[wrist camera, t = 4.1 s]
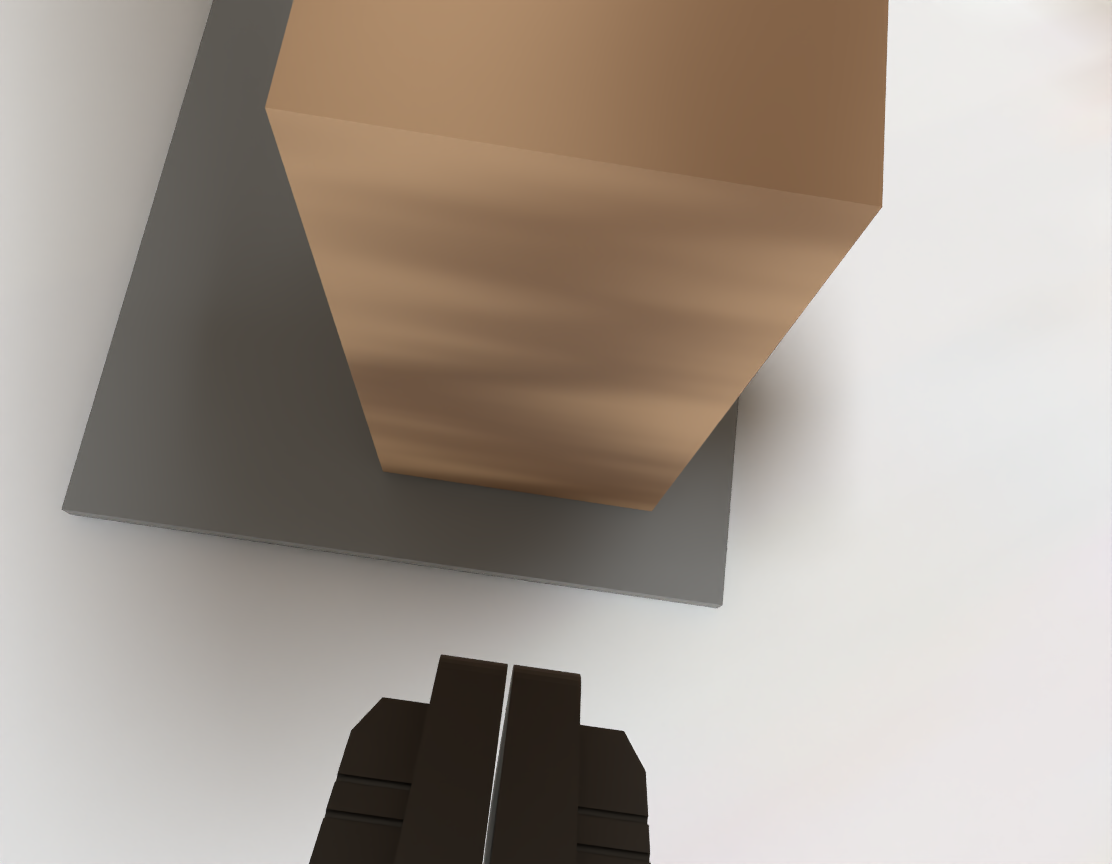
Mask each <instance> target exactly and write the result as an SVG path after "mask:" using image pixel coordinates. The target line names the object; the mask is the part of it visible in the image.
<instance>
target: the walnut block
mask: <svg viewBox="0 0 1112 864" xmlns="http://www.w3.org/2000/svg"><path fill="white" fill-rule="evenodd" d="M887 31H888V0H293V4H292V8H291V11H290V15H289V19H288V23H287V26H286V30H285V34H284V38H283V41H282V45H281V49H280V53H279V56H278V60H277V64H276V68H275V71H274V75H273V79H272V83H271V87H270V90H269V94H268V98H267V102H266V105H265V109H266V112H267V115H268V119H269V122H270V125H271V128H272V131H273V134H274V137H275V140H276V143H277V146H278V149H279V152H280V156H281V159H282V162H283V165H284V168H285V171H286V174H287V177H288V180H289V183H290V186H291V189H292V193H293V196H294V199H295V202H296V205H297V208H298V211H299V214H300V217H301V220H302V223H303V226H304V230H305V233H306V236H307V239H308V242H309V245H310V248H311V251H312V254H313V257H314V260H315V264H316V267H317V270H318V273H319V276H320V279H321V282H322V285H323V288H324V291H325V294H326V297H327V301H328V304H329V307H330V310H331V313H332V316H333V319H334V322H335V325H336V328H337V331H338V334H339V338H340V341H341V344H342V347H343V350H344V353H345V356H346V359H347V362H348V365H349V368H350V371H351V375H352V378H353V381H354V384H355V387H356V390H357V393H358V396H359V399H360V402H361V405H362V409H363V412H364V415H365V418H366V421H367V424H368V427H369V430H370V433H371V436H372V439H373V442H374V446H375V449H376V452H377V455H378V458H379V461H380V464H381V467H382V470H383V472H389V473H396V474H403V475H410V476H416V477H423V478H430V479H437V480H443V481H450V482H457V483H463V484H470V485H477V486H484V487H490V488H497V489H504V490H511V491H517V492H524V493H531V494H538V495H544V496H551V497H558V498H565V499H571V500H578V501H585V502H592V503H598V504H605V505H612V506H619V507H625V508H632V509H639V510H645V511H652V510H653V509H654V508H655V506H656V505H657V504H658V502H659V501H660V500H661V498H662V497H663V496H664V494H665V493H666V492H667V490H668V489H669V488H670V486H671V485H672V484H673V483H674V481H675V480H676V479H677V477H678V476H679V475H680V473H681V472H682V471H683V469H684V468H685V467H686V465H687V464H688V463H689V461H690V460H691V459H692V457H693V456H694V455H695V453H696V452H697V451H698V449H699V448H700V447H701V446H702V444H703V443H704V442H705V440H706V439H707V438H708V436H709V435H710V434H711V432H712V431H713V430H714V428H715V427H716V426H717V424H718V423H719V422H720V420H721V419H722V418H723V416H724V415H725V414H726V412H727V411H728V410H729V409H730V407H731V406H732V405H733V403H734V402H735V401H736V399H737V398H738V397H739V395H740V394H741V393H742V391H743V390H744V389H745V387H746V386H747V385H748V383H749V382H750V381H751V379H752V378H753V377H754V375H755V374H756V373H757V372H758V370H759V369H760V368H761V366H762V365H763V364H764V362H765V361H766V360H767V358H768V357H769V356H770V354H771V353H772V352H773V350H774V349H775V348H776V346H777V345H778V344H779V342H780V341H781V340H782V338H783V337H784V336H785V335H786V333H787V332H788V331H789V329H790V328H791V327H792V325H793V324H794V323H795V321H796V320H797V319H798V317H799V316H800V315H801V313H802V312H803V311H804V309H805V308H806V307H807V305H808V304H809V303H810V301H811V300H812V299H813V298H814V296H815V295H816V294H817V292H818V291H819V290H820V288H821V287H822V286H823V284H824V283H825V282H826V280H827V279H828V278H829V276H830V275H831V274H832V272H833V271H834V270H835V268H836V267H837V266H838V264H839V263H840V262H841V261H842V259H843V258H844V257H845V255H846V254H847V253H848V251H849V250H850V249H851V247H852V246H853V245H854V243H855V242H856V241H857V239H858V238H859V237H860V235H861V234H862V233H863V231H864V230H865V229H866V227H867V226H868V225H869V224H870V222H871V221H872V220H873V218H874V217H875V216H876V214H877V213H878V212H879V210H880V209H881V208H882V194H883V161H884V129H885V96H886V64H887Z"/></svg>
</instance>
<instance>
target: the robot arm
mask: <svg viewBox="0 0 1112 864" xmlns="http://www.w3.org/2000/svg"><path fill="white" fill-rule="evenodd" d="M507 667H508V664H504V663H497V662H490V661H483V660H476V659H469V658H462V657H455V656H448V655H441V657H440V660H439V664H438V668H437V673H436V677H435V682H434V686H433V691H432V695H431V700H430V704H427V703H419V702H412V701H405V700H398V699H391V698H384V697H382V699H381V700H380V701H379V702H378V703H377V704H376V705H375V706H374V707H373V708H372V709H371V710H370V711H369V712H368V713H367V714H366V715H365V716H364V718H363V719H362V720H361V721H360V722H359V723H358V724H357V725H356V726H355V727H354V728H353V729H352V730H351V733H350V736H349V739H348V742H347V745H346V748H345V752H344V755H343V758H342V761H341V764H340V767H339V771H338V775H337V780H336V782H335V783H334V786H333V789H332V793H331V796H330V799H329V802H328V805H327V808H326V814H325V818H323V821H322V824H321V827H320V831H319V834H318V837H317V840H316V843H315V846H314V850H313V853H312V856H311V859H310V862H309V864H482V862H483V855H484V862H483V864H651V863H649V857H650V842H649V825H647V819H648V805H647V787H646V771H645V769H644V768H643V766H642V764H641V762H640V760H639V758H638V756H637V755H636V753H635V751H634V749H633V747H632V745H631V743H630V742H629V740H628V738H627V736H626V734H625V732H624V731H619V730H612V729H605V728H598V727H591V726H584V725H580V701H581V676H580V674H576V673H569V672H562V671H555V670H548V669H541V668H534V667H527V666H520V665H514V666H513V670H512V676H511V682H510V688H509V694H508V701H507V707H506V713H505V719H504V725H503V731H502V737H501V743H500V750H499V756H498V762H497V768H496V774H495V781H494V788H493V794H492V801H491V808H490V800H491V792H492V784H493V777H494V769H495V761H496V753H497V745H498V738H499V730H500V722H501V714H502V707H503V699H504V691H505V683H506V675H507ZM489 808H490V816H489ZM488 816H489V823H488ZM487 823H488V831H487ZM486 831H487V838H486ZM485 839H486V846H485ZM484 847H485V854H484Z"/></svg>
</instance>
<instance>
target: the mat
mask: <svg viewBox="0 0 1112 864" xmlns="http://www.w3.org/2000/svg"><path fill="white" fill-rule="evenodd" d="M292 4H293V0H213V3H212V7H211V10H210V13H209V17H208V20H207V23H206V27H205V30H204V33H203V37H202V40H201V43H200V47H199V50H198V54H197V57H196V60H195V64H194V67H193V70H192V74H191V77H190V80H189V84H188V87H187V90H186V94H185V97H184V100H183V104H182V107H181V111H180V114H179V117H178V121H177V124H176V127H175V131H174V134H173V137H172V141H171V144H170V147H169V151H168V154H167V158H166V161H165V164H164V168H163V171H162V174H161V178H160V181H159V184H158V188H157V191H156V194H155V198H154V201H153V204H152V208H151V211H150V215H149V218H148V221H147V225H146V228H145V231H144V235H143V238H142V241H141V245H140V248H139V251H138V255H137V258H136V262H135V265H134V268H133V272H132V275H131V278H130V282H129V285H128V288H127V292H126V295H125V298H124V302H123V305H122V308H121V312H120V315H119V319H118V322H117V325H116V329H115V332H114V335H113V339H112V342H111V345H110V349H109V352H108V355H107V359H106V362H105V365H104V369H103V372H102V376H101V379H100V382H99V386H98V389H97V392H96V396H95V399H94V402H93V406H92V409H91V412H90V416H89V419H88V423H87V426H86V429H85V433H84V436H83V439H82V443H81V446H80V449H79V453H78V456H77V459H76V463H75V466H74V469H73V473H72V476H71V480H70V483H69V486H68V490H67V493H66V496H65V500H64V503H63V506H62V510H64V511H66V512H67V513H69V514H72V515H79V516H86V517H93V518H100V519H106V520H113V521H120V522H127V523H134V524H141V525H148V526H155V527H162V528H168V529H175V530H182V531H189V532H196V533H203V534H210V535H217V536H224V537H230V538H237V539H244V540H251V541H258V542H265V543H272V544H279V545H286V546H293V547H299V548H306V549H313V550H320V551H327V552H334V553H341V554H348V555H355V556H361V557H368V558H375V559H382V560H389V561H396V562H403V563H410V564H417V565H423V566H430V567H437V568H444V569H451V570H458V571H465V572H472V573H479V574H485V575H492V576H499V577H506V578H513V579H520V580H527V581H534V582H541V583H547V584H554V585H561V586H568V587H575V588H582V589H589V590H596V591H603V592H610V593H616V594H623V595H630V596H637V597H644V598H651V599H658V600H665V601H672V602H678V603H685V604H692V605H699V606H706V607H713V608H718V607H720V606H722V603H723V590H724V577H725V565H726V552H727V539H728V526H729V513H730V500H731V488H732V475H733V462H734V449H735V436H736V423H737V410H738V398H739V397H738V398H737V399H736V401H735V402H734V403H733V405H732V406H731V407H730V409H729V410H728V411H727V412H726V414H725V415H724V416H723V418H722V419H721V420H720V422H719V423H718V424H717V426H716V427H715V428H714V430H713V431H712V432H711V434H710V435H709V436H708V438H707V439H706V440H705V442H704V443H703V444H702V446H701V447H700V448H699V449H698V451H697V452H696V453H695V455H694V456H693V457H692V459H691V460H690V461H689V463H688V464H687V465H686V467H685V468H684V469H683V471H682V472H681V473H680V475H679V476H678V477H677V479H676V480H675V481H674V483H673V484H672V485H671V486H670V488H669V489H668V490H667V492H666V493H665V494H664V496H663V497H662V498H661V500H660V501H659V502H658V504H657V505H656V506H655V508H654V509H653V510H652V511H645V510H639V509H632V508H625V507H619V506H612V505H605V504H598V503H592V502H585V501H578V500H571V499H565V498H558V497H551V496H544V495H538V494H531V493H524V492H517V491H511V490H504V489H497V488H490V487H484V486H477V485H470V484H463V483H457V482H450V481H443V480H437V479H430V478H423V477H416V476H410V475H403V474H396V473H389V472H383V470H382V467H381V464H380V461H379V458H378V455H377V452H376V449H375V446H374V442H373V439H372V436H371V433H370V430H369V427H368V424H367V421H366V418H365V415H364V412H363V409H362V405H361V402H360V399H359V396H358V393H357V390H356V387H355V384H354V381H353V378H352V375H351V371H350V368H349V365H348V362H347V359H346V356H345V353H344V350H343V347H342V344H341V341H340V338H339V334H338V331H337V328H336V325H335V322H334V319H333V316H332V313H331V310H330V307H329V304H328V301H327V297H326V294H325V291H324V288H323V285H322V282H321V279H320V276H319V273H318V270H317V267H316V264H315V260H314V257H313V254H312V251H311V248H310V245H309V242H308V239H307V236H306V233H305V230H304V226H303V223H302V220H301V217H300V214H299V211H298V208H297V205H296V202H295V199H294V196H293V193H292V189H291V186H290V183H289V180H288V177H287V174H286V171H285V168H284V165H283V162H282V159H281V156H280V152H279V149H278V146H277V143H276V140H275V137H274V134H273V131H272V128H271V125H270V122H269V119H268V115H267V112H266V109H265V105H266V102H267V98H268V94H269V90H270V87H271V83H272V79H273V75H274V71H275V68H276V64H277V60H278V56H279V53H280V49H281V45H282V41H283V38H284V34H285V30H286V26H287V23H288V19H289V15H290V11H291V8H292Z"/></svg>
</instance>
